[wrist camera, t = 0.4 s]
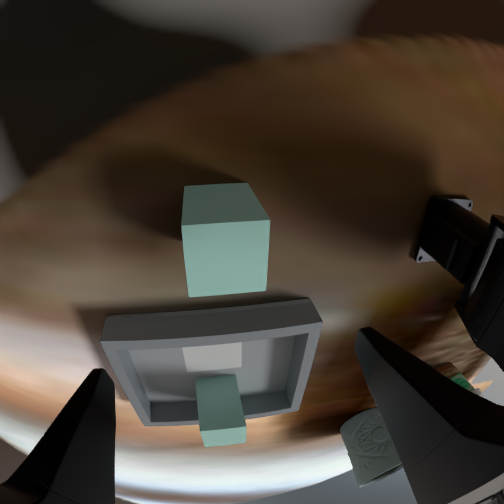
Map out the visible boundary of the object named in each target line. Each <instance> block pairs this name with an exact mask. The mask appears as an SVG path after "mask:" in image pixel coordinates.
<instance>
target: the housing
mask: <svg viewBox="0 0 504 504" xmlns="http://www.w3.org/2000/svg"><path fill="white" fill-rule="evenodd" d="M322 323H323V321H322V319H321V317H320V316H319V314H318V312H317V310H316V308H315V306H314V304H313V303H312V301H311V299H310V298H307V299H300V300H291V301H283V302H274V303H265V304H256V305H246V306H236V307H226V308H214V309H202V310H190V311H176V312H160V313H142V314H121V315H107V316H106V319H105V323H104V327H103V331H102V335H101V339H100V343H101V345H102V347H103V350H104V352H105V354H106V356H107V358H108V360H109V362H110V364H111V367H112V369H113V371H114V373H115V375H116V377H117V379H118V380H119V382H120V384H121V386H122V388H123V390H124V392H125V394H126V396H127V397H128V399H129V401H130V403H131V404H132V406H133V408H134V410H135V411H136V413H137V415H138V417H139V418H140V420H141V422H142V423H143V425H144V426H179V425H197V424H199V426H200V433H201V436H202V439H203V442H204V446H205V447H212V446H222V445H232V444H240V443H246V422H245V420H246V419H253V418H259V417H266V416H272V415H277V414H283V413H288V412H293V411H298V410H299V407H300V404H301V400H302V397H303V394H304V390H305V387H306V384H307V380H308V377H309V373H310V370H311V366H312V362H313V359H314V355H315V351H316V347H317V343H318V340H319V336H320V332H321V328H322Z"/></svg>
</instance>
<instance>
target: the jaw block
mask: <svg viewBox="0 0 504 504" xmlns="http://www.w3.org/2000/svg"><path fill="white" fill-rule="evenodd" d="M181 228H182V239H183V249H184V259H185V268H186V276H187V285H188V293H189V297H201V296H213V295H225V294H236V293H247V292H257V291H266V282H267V266H268V249H269V232H270V219H269V217H268V216H267V214H266V212H265V211H264V209H263V207H262V206H261V204H260V202H259V201H258V199H257V198H256V196H255V194H254V193H253V191H252V189H251V188H250V186H249V184H248V183H230V184H210V185H193V186H184V197H183V209H182V222H181Z"/></svg>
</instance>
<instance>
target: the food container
mask: <svg viewBox="0 0 504 504" xmlns="http://www.w3.org/2000/svg"><path fill="white" fill-rule="evenodd" d="M435 370H437V371H438V372H440V373H441V374H443V375H445V376H446V377H448V378H449V379H451V380H452V381H454V382H455V383H457V384H459V385H460V386H462V387H464V388H466V389H467V390H469V391H471V392H473V393H475V394H477V395H479V396H481V397H482V394H481V391H480V389H479V388H477V389H474V388H473V386H472V385H471V384H470V383H469V382H468V381H467V380H466V379H465V377H464V376H463V375H462V374H461V373H460V372H459V371H458V370H457V369H456V367H455V366H454V365H453V364H452V363H451V362H447V363H445V364H442V365H440V366H439V367H437V368H436V369H435Z"/></svg>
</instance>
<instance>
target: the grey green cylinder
mask: <svg viewBox="0 0 504 504" xmlns="http://www.w3.org/2000/svg"><path fill="white" fill-rule="evenodd" d="M340 433H341V436H342V439H343V441H344V443H345V446H346V448H347V450H348V455H349V457H350V460H351V463H352V466H353V470H354V474H355V478H356V480H357V484H358V487H363V486H366V485H369V484H372V483H374V482H376V481H379V480H381V479H383V478H385V477H387V476H389V475H391V474H393V473H395V472H397V471H398V470H400V469H402V468H403V465H402V463H401V461H400V458H399V456H398V453H397V451H396V449H395V446H394V444H393V442H392V439H391V437H390V435H389V432H388V430H387V428H386V425H385V423H384V421H383V419H382V416H381V414H380V412H379V410H378V407H377V408H372V409H368V410H366V411H363V412H361V413H359V414H357V415H355V416H354V417H352V418H350V419H349V420H348V421H346V422H345V423H344V424H343V425H342V426H341V428H340Z"/></svg>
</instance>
